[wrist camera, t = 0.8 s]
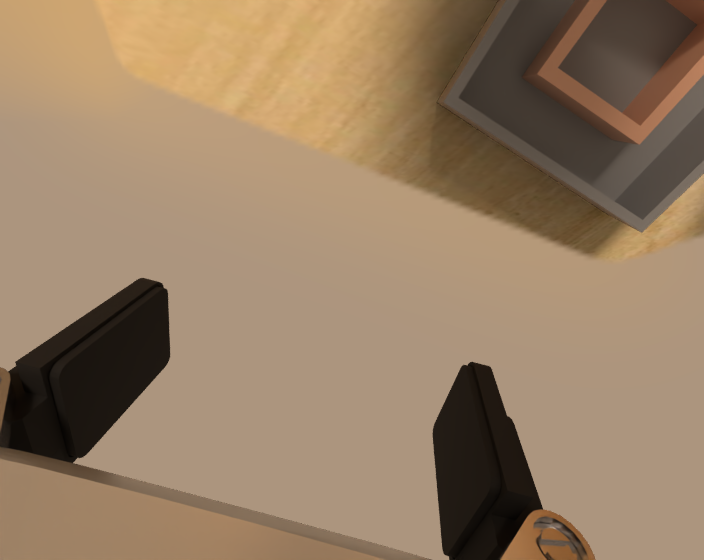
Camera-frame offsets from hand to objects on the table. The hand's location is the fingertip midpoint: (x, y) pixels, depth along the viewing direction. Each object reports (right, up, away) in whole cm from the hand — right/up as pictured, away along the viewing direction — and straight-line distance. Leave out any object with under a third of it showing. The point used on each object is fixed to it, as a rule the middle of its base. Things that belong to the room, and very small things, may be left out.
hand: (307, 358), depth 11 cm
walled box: (+23, +21, +18) cm, 36 cm away
